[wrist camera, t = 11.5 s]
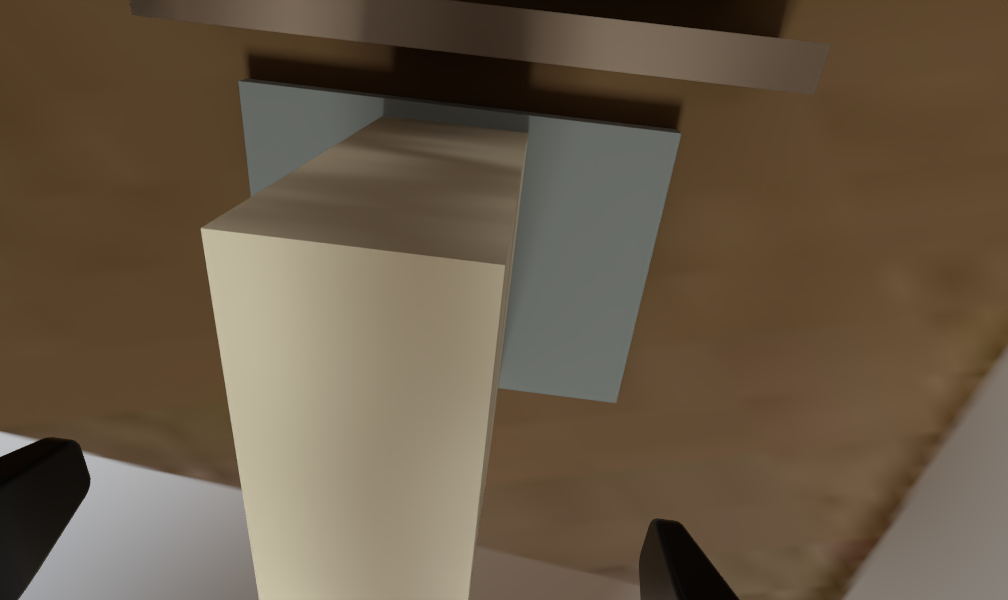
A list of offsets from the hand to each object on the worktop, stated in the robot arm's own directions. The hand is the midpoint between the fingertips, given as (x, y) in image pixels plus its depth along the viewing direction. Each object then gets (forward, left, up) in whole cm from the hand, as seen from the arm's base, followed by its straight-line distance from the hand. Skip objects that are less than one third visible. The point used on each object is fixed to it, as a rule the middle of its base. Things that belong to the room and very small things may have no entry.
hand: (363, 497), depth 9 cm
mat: (0, 0, -10) cm, 10 cm away
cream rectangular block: (0, 0, -9) cm, 9 cm away
